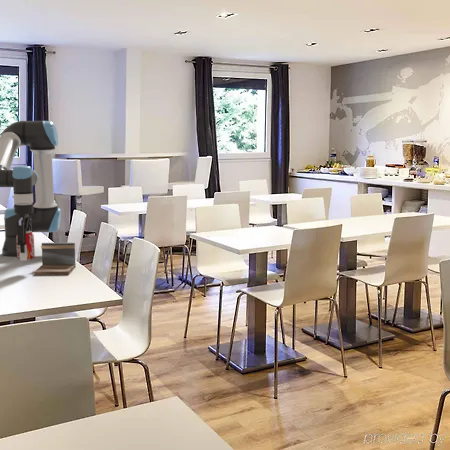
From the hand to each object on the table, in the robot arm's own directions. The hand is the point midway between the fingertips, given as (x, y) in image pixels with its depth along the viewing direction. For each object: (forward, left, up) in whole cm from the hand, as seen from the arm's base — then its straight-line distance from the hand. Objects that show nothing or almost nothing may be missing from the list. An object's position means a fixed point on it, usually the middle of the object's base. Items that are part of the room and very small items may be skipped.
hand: (26, 258), depth 254 cm
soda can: (0, 0, -1) cm, 1 cm away
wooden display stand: (-4, +11, -7) cm, 14 cm away
